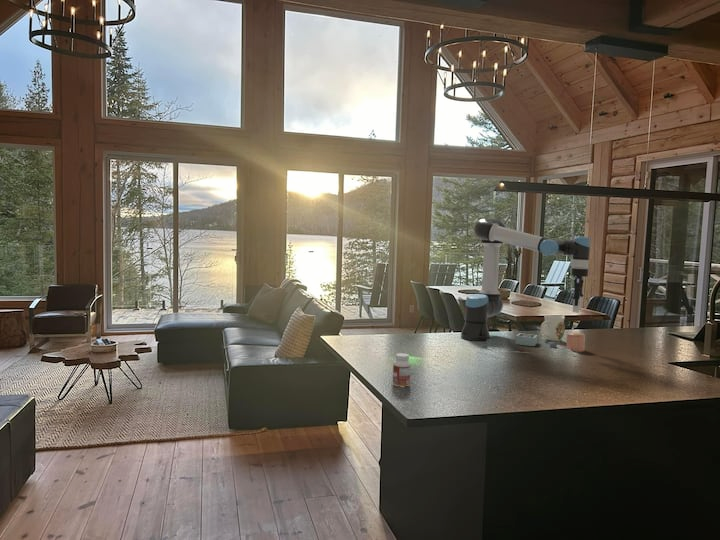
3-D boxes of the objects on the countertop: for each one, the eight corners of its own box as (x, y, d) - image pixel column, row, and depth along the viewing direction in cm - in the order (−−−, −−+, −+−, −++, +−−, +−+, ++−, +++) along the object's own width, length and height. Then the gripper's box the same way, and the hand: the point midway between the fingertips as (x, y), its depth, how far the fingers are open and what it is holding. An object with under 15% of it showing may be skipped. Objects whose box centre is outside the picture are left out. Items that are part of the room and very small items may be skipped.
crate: (515, 345, 268) (515, 335, 267) (518, 342, 276) (519, 333, 275) (534, 347, 263) (534, 337, 263) (537, 344, 272) (537, 335, 271)
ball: (548, 348, 262) (549, 342, 262) (549, 347, 265) (550, 341, 265) (556, 349, 261) (556, 342, 260) (556, 348, 264) (557, 341, 263)
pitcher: (532, 340, 283) (533, 315, 282) (554, 338, 292) (555, 313, 291) (549, 344, 273) (550, 318, 273) (571, 341, 283) (572, 316, 282)
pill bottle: (391, 382, 190) (392, 352, 190) (408, 383, 191) (409, 352, 190) (394, 387, 184) (395, 356, 184) (411, 387, 185) (412, 356, 184)
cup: (565, 350, 260) (566, 334, 260) (567, 347, 267) (568, 331, 267) (583, 352, 257) (584, 336, 256) (584, 349, 264) (585, 333, 263)
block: (522, 344, 268) (523, 336, 268) (521, 342, 272) (522, 334, 272) (530, 344, 267) (531, 336, 267) (530, 343, 271) (530, 335, 271)
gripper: (586, 269, 247) (583, 314, 248) (589, 267, 269) (586, 308, 270) (569, 268, 250) (566, 312, 251) (574, 266, 272) (571, 307, 274)
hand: (576, 310), depth 261 cm, fingers open, 13 cm apart
